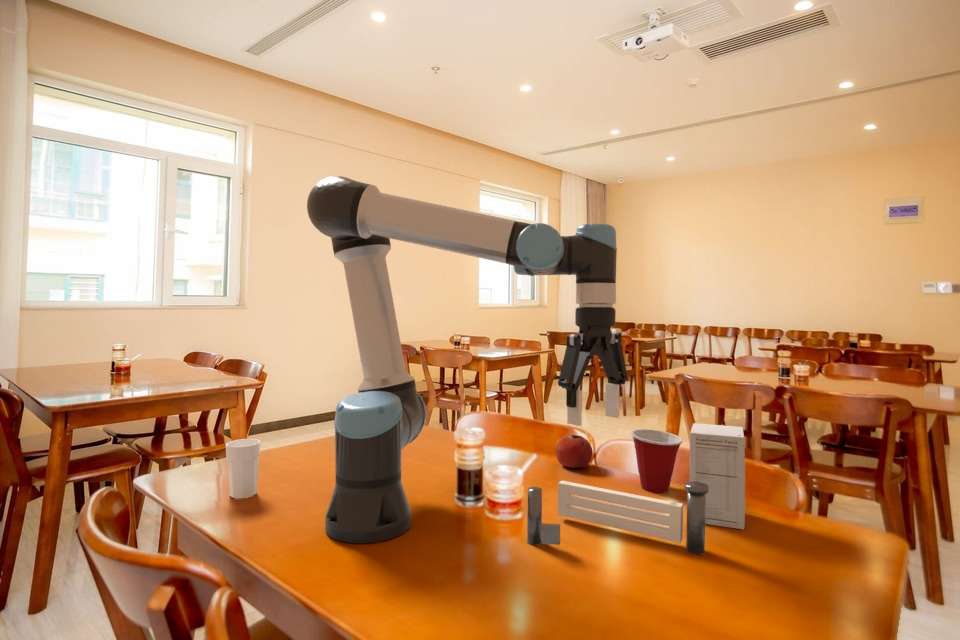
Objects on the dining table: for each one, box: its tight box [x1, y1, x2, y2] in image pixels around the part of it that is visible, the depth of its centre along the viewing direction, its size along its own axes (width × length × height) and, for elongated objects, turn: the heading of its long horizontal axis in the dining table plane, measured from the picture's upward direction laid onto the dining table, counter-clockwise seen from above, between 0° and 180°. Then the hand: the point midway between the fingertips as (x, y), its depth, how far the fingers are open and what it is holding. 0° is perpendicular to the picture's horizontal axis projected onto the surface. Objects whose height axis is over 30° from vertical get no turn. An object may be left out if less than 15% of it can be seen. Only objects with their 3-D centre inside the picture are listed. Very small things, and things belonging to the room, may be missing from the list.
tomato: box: [554, 434, 593, 469], centre depth 133 cm, size 9×9×8 cm
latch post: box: [526, 486, 561, 546], centre depth 89 cm, size 5×4×9 cm
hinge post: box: [684, 481, 709, 556], centre depth 87 cm, size 4×4×11 cm
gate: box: [557, 480, 684, 544], centre depth 94 cm, size 22×2×6 cm, turn 58°
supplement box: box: [689, 422, 746, 530], centre depth 101 cm, size 10×9×17 cm
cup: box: [225, 438, 261, 499], centre depth 112 cm, size 7×7×11 cm
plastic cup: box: [630, 428, 684, 494], centre depth 117 cm, size 11×11×12 cm
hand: (593, 420), depth 103 cm, fingers open, 11 cm apart
